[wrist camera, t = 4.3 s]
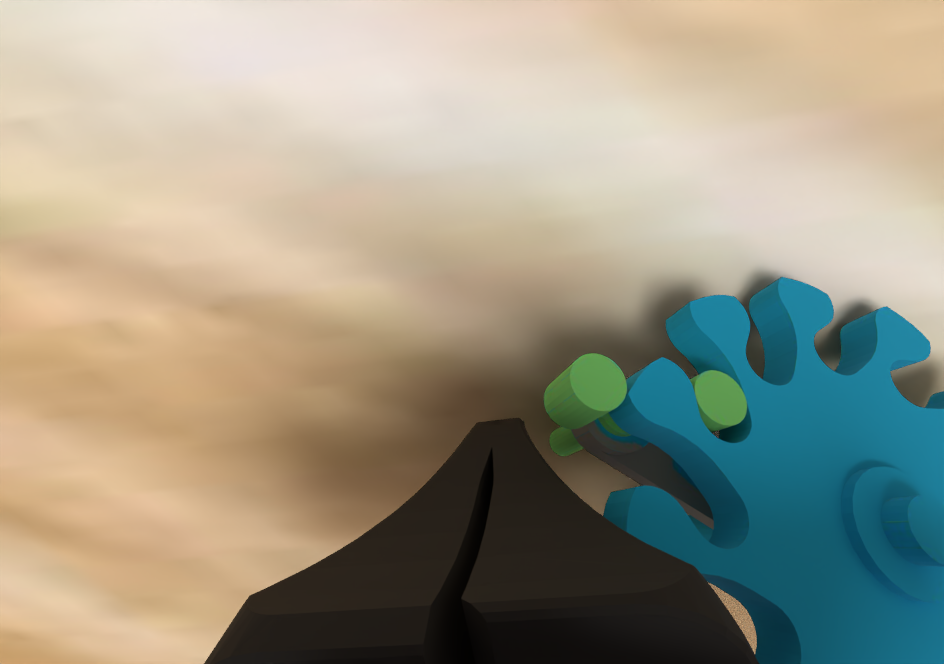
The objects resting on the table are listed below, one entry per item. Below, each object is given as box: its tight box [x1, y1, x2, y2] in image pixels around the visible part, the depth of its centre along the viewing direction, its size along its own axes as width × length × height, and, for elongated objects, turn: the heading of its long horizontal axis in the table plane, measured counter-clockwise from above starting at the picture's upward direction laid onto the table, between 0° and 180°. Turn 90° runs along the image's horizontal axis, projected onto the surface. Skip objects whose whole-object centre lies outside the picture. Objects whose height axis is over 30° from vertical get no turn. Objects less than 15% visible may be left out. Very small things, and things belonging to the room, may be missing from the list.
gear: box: [544, 277, 944, 664], centre depth 9 cm, size 11×6×10 cm
